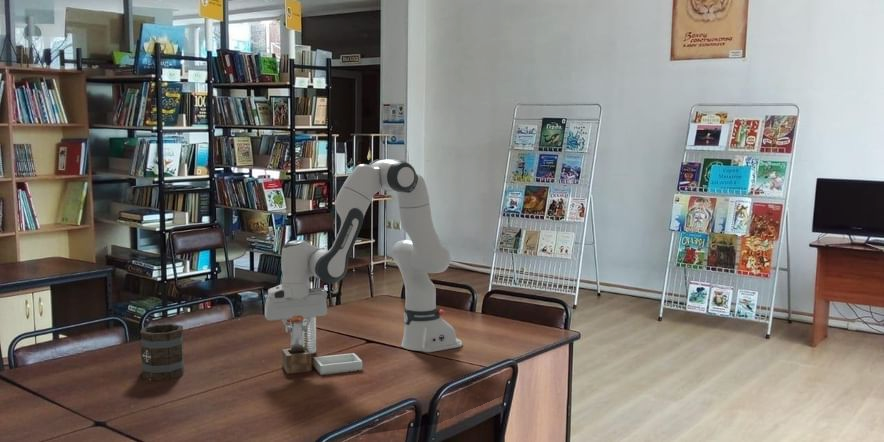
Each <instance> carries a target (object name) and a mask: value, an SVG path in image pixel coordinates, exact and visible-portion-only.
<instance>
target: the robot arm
mask: <svg viewBox="0 0 884 442" xmlns="http://www.w3.org/2000/svg"><path fill="white" fill-rule="evenodd" d="M379 190H383V191H386V192H395V193H396V195H397V199H398V207H399V216H400V223H401V227H402V229H403V231H404V232H405V233H406V235H408V237H409V239H402V240H399V241H396V242H395V244H394V245H393V248H392V251H391V257H392V260H393V261H394V263H395V264H396V265H397V267H398V269H399V271H400V273H401V276H402V280H403V283H404V288H405V289H404V291H405V292H404V294H405V307H404V312H403V320H404V321H403V322H404V331H403V335H402V341H401V344H400V347H401V348H403V349H405V350H409V351H417V352H418V351H419V352H424V353H433V352H437V351H438V352H439V351H444V350H449V349H456V348H461V347H462V346H463V342H462V340H460V339H459V338H457V334H456V330H455V329H454V326H453V325H451V324H450V323H448V322H447V321H446V320H445V319H443V318H442V317H441V316H445V315H446V314H445V313H446V311H445V310H443V309H440V308H438V307H437V305H436V301H437V299H436V298H437V297H436V296H437V293H436V291H437V289H436V286H435V284H434V283H433V281H432V280H431V279H430V277H429V274H438V273H439V274H441V273H444V272H445V271H446V270H447V269H448V268H449V266H450V263H451V253H450V251H449V249H448V248H447V247H446V246H445V245H444V244H443V243H442V241H441V240H440V238H439V236H438V234H437V231H436V229H435V227H434V223H433V219H432V212H431V203H430V198H429V197H430V196H429V192H428V188H427V184H426V182H425V178H424V177H423V176H422V175H420V174H418V173H417V172H416V170H415V168H414V167H413V165H412V164H410V163H409V162H408V161H405V160H398V159H394V158H393V159H392V158H387V159H384V158H378V159H375V160H373V161H371V162H369V163H368V164H366V163H362V164H361V163H360V164H358V165H356V166H355V167H354V168H353V170H352V171H351V172H350V173H349V175H348V176H347V178H346V179H345V181H344V183H343V184H342V186H341V187H340V190H339V192H338V194H337V196H336V198H335V202H334V208H335V211H336V213H337V215H338V216H339V218H340V221H341V222H340V227H339V231H338V233H337V234H336V237H335V240H334V241H333V244H332V246H331V247H330V248H329V250H328V249H325V248H322V247H318V246H315V245H312V244H311V243H308V242H307V241H306V240H304V239H294V240H290V241H287V242H286V243H284V245H283V246H282V249H281V260H280V261H281V262H280V264H281V265H280V268H281V272H282V276H281V277H282V278H281V284H278V285H276V286H274V287H271V288H268V289H267V295H268V297H267V298H266V301H265V303H264V318H265V319H266V320H267V321H268V322H269V321H270V322H271V321H272V322H273V321H279V320H280V321H281V322H282V323H283V326H284V328H285V333H291V327H290V325H288V324H287V322H288V320H289V319H292V317H294V316H302V317H306V319H307V321H306V323H305V324H303V330H308V325H309V323H310V321H311V317H313V316H316V317H321V316H326V315H327V313H328V305H327V299H328V293H327V292H328V291H327V290H326V289H324V288H323V287H317V288H314V287H313V288H310V278H311V277H315V278H317V279H320V280H321V281H322V282H324V283H326V284H336V283H338V282H340V281H341V280H342V279H344V277H345V276H346V274H347V272H348V267H349V258H350V255H351V253H352V251H353V248H354V245H355V243H356V241H357V239H358V237H359V233H360V231H361V229H362V226H363V223H364V219H365V215H366V214H367V213H366V212H367V210H368V208H369V207H370V204H371V203H372V200H373V199H374V197H375V194H376V193H377V192H378V191H379Z"/></svg>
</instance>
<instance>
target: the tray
mask: <svg viewBox="0 0 884 442" xmlns="http://www.w3.org/2000/svg"><path fill="white" fill-rule="evenodd" d="M313 367H314V368H315V369H316V370H317V372H318V373H319V374H320V376H325V375H331V374H338V373H341V374H342V373H348V372H349V371H350V372H358V371H357V370H359V371H363V360H362V359H361V358H360V357H359V356H358V355H357V354H356V353H355V352H352V353H351V352H350V353H342V354H333V355H331V354H330V355H324V356H322V355H321V356H316V357H315V356H314V357H313Z"/></svg>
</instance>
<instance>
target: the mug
mask: <svg viewBox="0 0 884 442" xmlns="http://www.w3.org/2000/svg"><path fill="white" fill-rule="evenodd" d="M183 329H184V326H183V325H180V324H175V323H161V324H160V323H159V324H152V325H149V326H144V327H142V328H141V330H140V332H139V333H140V339H141V341H140V342H141V350H140V353H141V354H140V355H141V356H140V357H141V364H142V366H141V367H142V375H141V378H142V377H143V378H142V379H144V378H147V379H146V380H148V379H151V380H157V381H162V380H161V379H170V380H173V379H176V378H178V377H179V378H180V377H182V376H184V373H185V365H184V341H183V331H184V330H183ZM151 380H150V381H151Z"/></svg>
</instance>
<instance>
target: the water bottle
mask: <svg viewBox="0 0 884 442" xmlns="http://www.w3.org/2000/svg"><path fill="white" fill-rule="evenodd" d="M306 321H307V319H306V317H304V320H303V324H305V323H306ZM303 347H306V348H307V349H308V350H309V351H310V353H311V356H312V355H315V354H316V352H317V316H313V317H311V321H310V323H309V325H308V330H303Z"/></svg>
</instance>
